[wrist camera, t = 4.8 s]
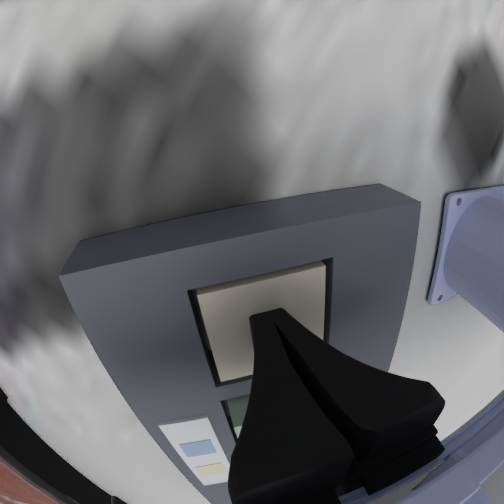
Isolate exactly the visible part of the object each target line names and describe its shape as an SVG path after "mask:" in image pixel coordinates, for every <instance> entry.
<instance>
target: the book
mask: <svg viewBox="0 0 504 504" xmlns="http://www.w3.org/2000/svg"><path fill="white" fill-rule="evenodd" d="M7 398H8V397H7V396H6V394H5V393H4V392H3V391H2V389H1V388H0V502H2V503H3V504H127V503H125V502H123V501H122V500H120V499H119V498H118V497H116V496H111V495H109V494H108V493H106V492H105V491H103V490H102V489H101V488H99V487H98V486H96V485H95V484H94V483H92V482H91V481H90V480H88V479H87V478H86V477H85V476H83V475H82V474H81V473H79V472H78V471H77V470H76V469H75V468H73V467H72V466H71V465H70V464H69V463H67V462H66V461H65V460H64V459H63V458H62V457H60V456H59V455H58V454H57V453H56V452H55V451H54V450H53V449H52V448H50V447H49V446H48V445H47V444H46V443H45V442H44V441H43V440H42V439H41V438H40V437H39V436H38V435H37V434H36V433H35V432H34V431H33V430H32V429H31V428H30V427H29V426H28V425H27V424H26V423H25V422H24V421H23V419H22V418H21V417H20V416H19V415H18V414H17V413H16V412H15V411H14V409H13V408H12V407H11V406H10V405H9V404H8V403H7Z"/></svg>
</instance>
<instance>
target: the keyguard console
mask: <svg viewBox="0 0 504 504" xmlns="http://www.w3.org/2000/svg"><path fill="white" fill-rule="evenodd" d="M420 208H421V202H420V201H418V200H416V199H413V198H411V197H409V196H407V195H405V194H403V193H400V192H398V191H396V190H394V189H391V188H389V187H387V186H385V185H382V184H374V185H366V186H359V187H352V188H345V189H338V190H332V191H325V192H318V193H312V194H306V195H300V196H294V197H288V198H282V199H276V200H270V201H264V202H259V203H253V204H248V205H242V206H237V207H232V208H227V209H221V210H216V211H211V212H206V213H201V214H196V215H191V216H187V217H182V218H177V219H172V220H168V221H163V222H159V223H154V224H150V225H145V226H141V227H136V228H132V229H128V230H124V231H119V232H115V233H111V234H107V235H103V236H99V237H95V238H91V239H87V240H83V241H80V242H79V243H78V245H77V247H76V248H75V250H74V251H73V253H72V255H71V256H70V258H69V260H68V261H67V263H66V265H65V266H64V268H63V270H62V271H61V273H60V275H59V278H60V281H61V283H62V285H63V287H64V290H65V292H66V294H67V296H68V299H69V301H70V303H71V305H72V307H73V309H74V311H75V313H76V315H77V318H78V320H79V322H80V324H81V325H82V327H83V329H84V331H85V333H86V335H87V337H88V339H89V341H90V343H91V344H92V346H93V348H94V350H95V352H96V353H97V355H98V357H99V359H100V360H101V362H102V364H103V365H104V367H105V369H106V370H107V372H108V374H109V375H110V377H111V379H112V380H113V382H114V383H115V385H116V387H117V388H118V390H119V391H120V393H121V394H122V396H123V397H124V399H125V400H126V402H127V403H128V405H129V406H130V408H131V409H132V410H133V412H134V413H135V415H136V416H137V417H138V419H139V420H140V422H141V423H142V424H143V426H144V427H145V428H146V430H147V431H148V432H149V434H150V435H151V436H152V438H153V439H154V440H155V441H156V443H157V444H158V445H159V446H160V448H161V449H162V450H163V451H164V453H165V454H166V455H167V456H168V457H169V459H170V460H171V461H172V462H173V463H174V465H175V466H176V467H177V468H178V469H179V470H180V471H181V473H182V474H183V475H184V476H185V477H186V478H187V479H188V480H189V481H190V482H191V483H192V485H193V486H194V487H195V488H196V489H197V490H198V491H199V492H200V493H201V494H202V495H203V496H204V497H205V498H206V499H207V500H208V501H209V502H210V503H211V504H232V502H231V499H230V495H229V492H228V475H229V468H230V462H231V455H232V452H233V450H234V447H235V445H236V442H237V440H238V438H237V435H236V432H235V430H234V426H233V423H232V419H231V415H230V411H229V407H228V403H227V399H231V398H235V397H240V396H244V395H248V394H250V391H251V385H252V377H253V374H252V375H248V376H244V377H240V378H236V379H232V380H227V381H223V382H221V380H220V377H219V374H218V370H217V367H216V364H215V360H214V357H213V353H212V350H211V346H210V342H209V339H208V335H207V332H206V328H205V324H204V320H203V317H202V313H201V309H200V305H199V301H198V297H197V292H196V288H200V287H205V286H210V285H214V284H219V283H223V282H228V281H233V280H237V279H242V278H246V277H250V276H255V275H259V274H264V273H268V272H272V271H277V270H281V269H285V268H290V267H294V266H298V265H302V264H307V263H311V262H315V261H319V260H321V261H322V262H323V263H324V264H325V266H326V276H325V311H324V334H323V341H325V342H326V343H328V344H329V345H331V346H333V347H334V348H336V349H337V350H339V351H341V352H343V353H344V354H346V355H348V356H350V357H352V358H354V359H356V360H358V361H360V362H362V363H364V364H367V365H369V366H372V367H375V368H377V369H380V370H382V371H385V372H388V370H389V367H390V363H391V360H392V357H393V353H394V349H395V346H396V342H397V338H398V334H399V330H400V326H401V322H402V318H403V314H404V309H405V305H406V300H407V295H408V290H409V285H410V280H411V274H412V269H413V263H414V256H415V250H416V243H417V235H418V227H419V218H420Z"/></svg>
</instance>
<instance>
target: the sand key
mask: <svg viewBox="0 0 504 504" xmlns="http://www.w3.org/2000/svg"><path fill="white" fill-rule="evenodd" d="M325 276H326V266H325V264H324V263H323V262H322V261H321V260H319V261H315V262H311V263H307V264H302V265H298V266H294V267H290V268H285V269H281V270H277V271H272V272H268V273H264V274H259V275H255V276H250V277H246V278H242V279H237V280H233V281H228V282H223V283H219V284H214V285H210V286H205V287H200V288H196V292H197V297H198V301H199V305H200V309H201V313H202V317H203V320H204V324H205V328H206V332H207V335H208V339H209V342H210V346H211V350H212V353H213V357H214V360H215V364H216V367H217V370H218V374H219V377H220V380H221V382H223V381H227V380H232V379H236V378H240V377H244V376H248V375H252V374H253V366H254V348H253V342H252V335H251V329H250V322H249V317H250V316H251V315H254V314H258V313H262V312H266V311H270V310H274V309H278V308H283V309H285V310H286V311H287V312H288V313H289V314H290V315H291V316H292V317H294V318H295V319H296V320H297V321H298V322H300V323H301V324H302V325H303V326H304V327H306V328H307V329H308V330H310V331H311V332H312V333H314V334H315V335H316V336H318V337H319V338H321V339H322V340H323V334H324V311H325Z"/></svg>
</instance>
